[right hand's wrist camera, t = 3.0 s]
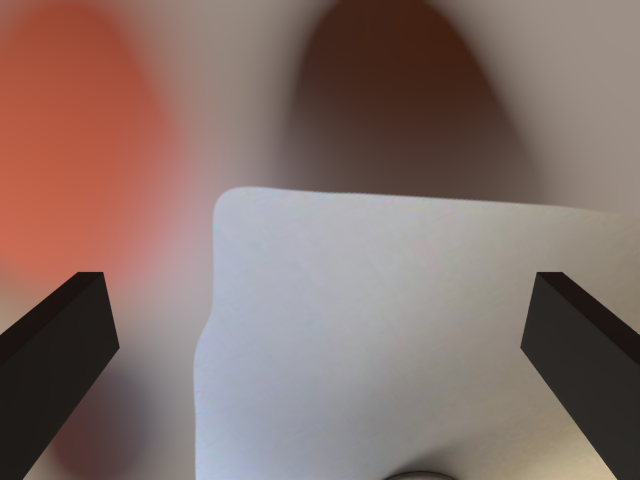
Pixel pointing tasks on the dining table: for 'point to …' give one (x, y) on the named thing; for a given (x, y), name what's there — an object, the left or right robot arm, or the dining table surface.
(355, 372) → the dining table surface
